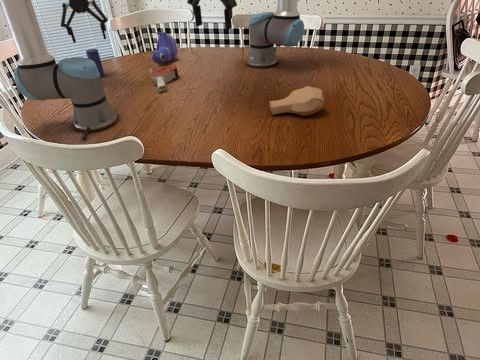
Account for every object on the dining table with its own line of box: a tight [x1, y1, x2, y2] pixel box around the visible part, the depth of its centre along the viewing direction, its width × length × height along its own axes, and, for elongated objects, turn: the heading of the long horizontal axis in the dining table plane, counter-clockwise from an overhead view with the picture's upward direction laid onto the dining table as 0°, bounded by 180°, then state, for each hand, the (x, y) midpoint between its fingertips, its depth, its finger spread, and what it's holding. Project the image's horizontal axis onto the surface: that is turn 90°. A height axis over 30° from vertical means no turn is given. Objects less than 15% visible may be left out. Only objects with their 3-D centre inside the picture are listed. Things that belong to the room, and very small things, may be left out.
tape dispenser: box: [148, 64, 179, 93], centre depth 162 cm, size 18×5×20 cm
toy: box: [150, 31, 178, 67], centre depth 182 cm, size 10×17×25 cm
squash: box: [268, 85, 325, 117], centre depth 129 cm, size 11×20×9 cm, turn 92°
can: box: [85, 48, 106, 78], centre depth 172 cm, size 6×6×12 cm
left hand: (90, 40), depth 166 cm, fingers open, 13 cm apart
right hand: (213, 27), depth 128 cm, fingers open, 13 cm apart
